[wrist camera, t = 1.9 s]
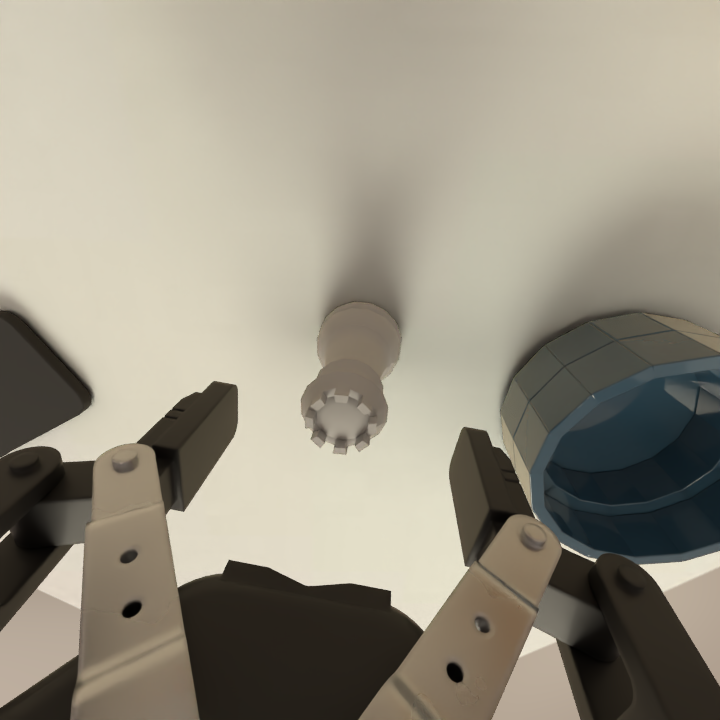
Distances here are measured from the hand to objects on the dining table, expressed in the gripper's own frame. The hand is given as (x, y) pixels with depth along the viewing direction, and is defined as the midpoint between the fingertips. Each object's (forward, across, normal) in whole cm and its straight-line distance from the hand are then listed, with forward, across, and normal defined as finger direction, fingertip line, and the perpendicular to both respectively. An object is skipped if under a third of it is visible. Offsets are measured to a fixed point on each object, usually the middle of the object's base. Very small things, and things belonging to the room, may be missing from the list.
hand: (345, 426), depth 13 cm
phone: (+8, +24, +9) cm, 27 cm away
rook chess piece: (+8, 0, 0) cm, 8 cm away
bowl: (+8, -14, +1) cm, 16 cm away
